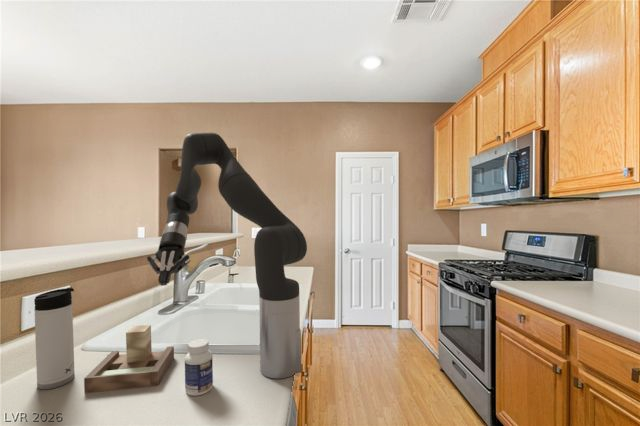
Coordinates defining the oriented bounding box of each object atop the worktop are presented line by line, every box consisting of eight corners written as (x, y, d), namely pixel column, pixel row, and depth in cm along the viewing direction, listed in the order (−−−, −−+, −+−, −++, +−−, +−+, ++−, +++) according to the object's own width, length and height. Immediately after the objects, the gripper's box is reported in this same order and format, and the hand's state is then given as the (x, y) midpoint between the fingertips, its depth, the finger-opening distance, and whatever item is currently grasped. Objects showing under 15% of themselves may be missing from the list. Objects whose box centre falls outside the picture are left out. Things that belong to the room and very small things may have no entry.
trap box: (174, 358, 79) (173, 346, 78) (157, 385, 67) (157, 371, 67) (112, 363, 76) (112, 351, 76) (84, 392, 64) (84, 378, 64)
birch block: (151, 352, 77) (150, 324, 77) (145, 360, 73) (144, 331, 73) (133, 354, 76) (133, 326, 76) (126, 362, 73) (125, 332, 72)
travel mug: (79, 380, 69) (76, 290, 68) (39, 393, 64) (35, 296, 64) (73, 370, 73) (70, 285, 73) (35, 382, 68) (32, 291, 68)
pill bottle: (203, 398, 62) (202, 349, 62) (179, 395, 63) (178, 347, 63) (217, 383, 67) (217, 338, 67) (195, 380, 69) (194, 336, 68)
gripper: (149, 231, 100) (134, 278, 89) (193, 230, 103) (184, 276, 91) (155, 245, 106) (142, 291, 94) (196, 244, 108) (189, 289, 96)
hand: (163, 284), depth 93 cm, fingers closed
